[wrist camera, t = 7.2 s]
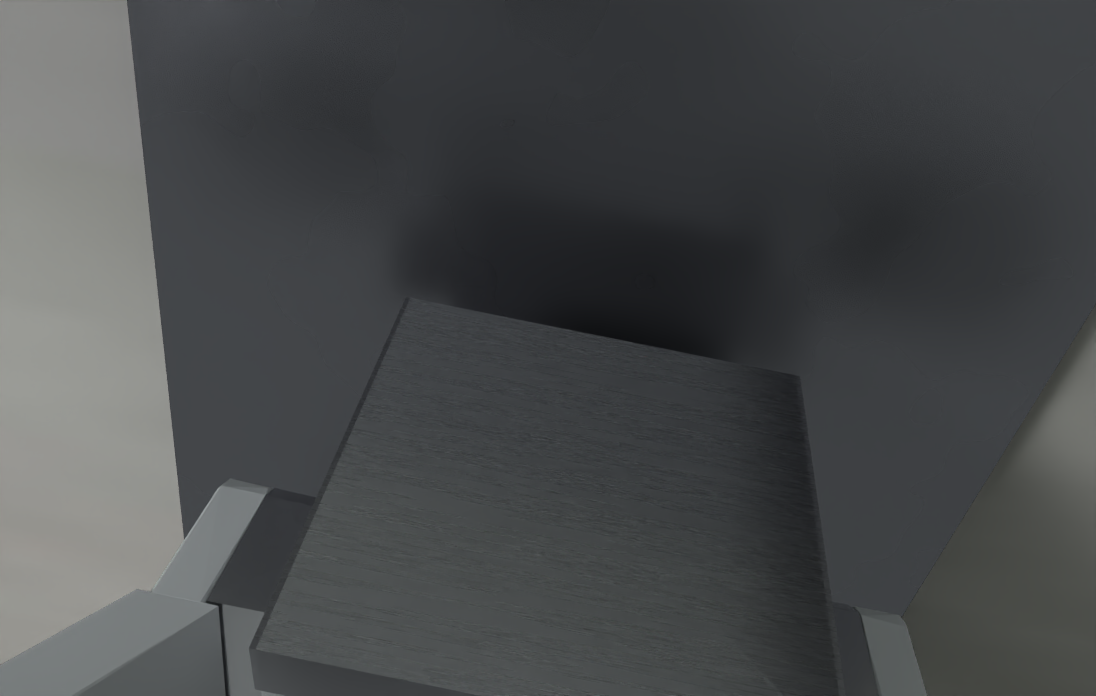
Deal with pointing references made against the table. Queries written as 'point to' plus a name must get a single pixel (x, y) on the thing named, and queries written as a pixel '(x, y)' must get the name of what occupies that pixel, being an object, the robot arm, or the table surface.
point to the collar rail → (631, 218)
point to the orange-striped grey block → (557, 527)
